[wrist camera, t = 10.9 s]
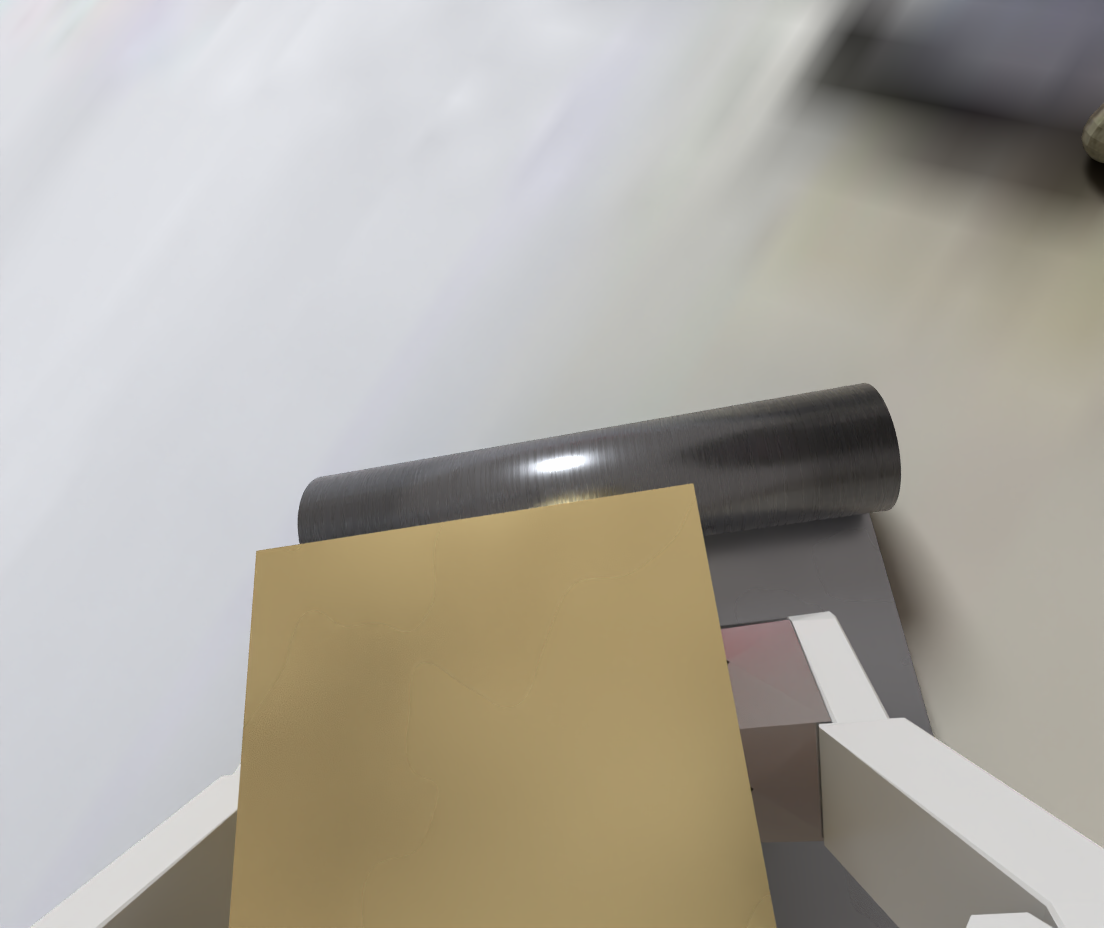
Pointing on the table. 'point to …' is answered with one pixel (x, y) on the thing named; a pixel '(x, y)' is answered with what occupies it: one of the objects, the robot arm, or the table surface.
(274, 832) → the tan wooden block
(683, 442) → the fixed leaf
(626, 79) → the table surface
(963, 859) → the robot arm
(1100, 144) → the tabletop clock
